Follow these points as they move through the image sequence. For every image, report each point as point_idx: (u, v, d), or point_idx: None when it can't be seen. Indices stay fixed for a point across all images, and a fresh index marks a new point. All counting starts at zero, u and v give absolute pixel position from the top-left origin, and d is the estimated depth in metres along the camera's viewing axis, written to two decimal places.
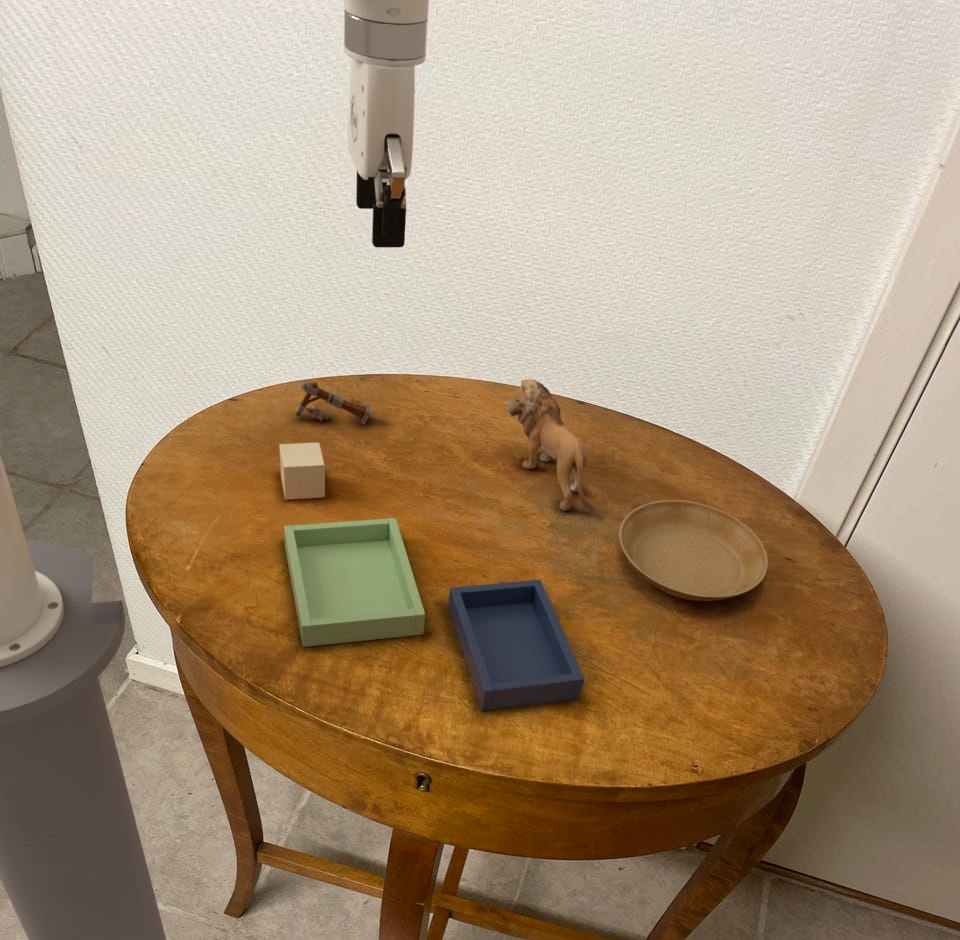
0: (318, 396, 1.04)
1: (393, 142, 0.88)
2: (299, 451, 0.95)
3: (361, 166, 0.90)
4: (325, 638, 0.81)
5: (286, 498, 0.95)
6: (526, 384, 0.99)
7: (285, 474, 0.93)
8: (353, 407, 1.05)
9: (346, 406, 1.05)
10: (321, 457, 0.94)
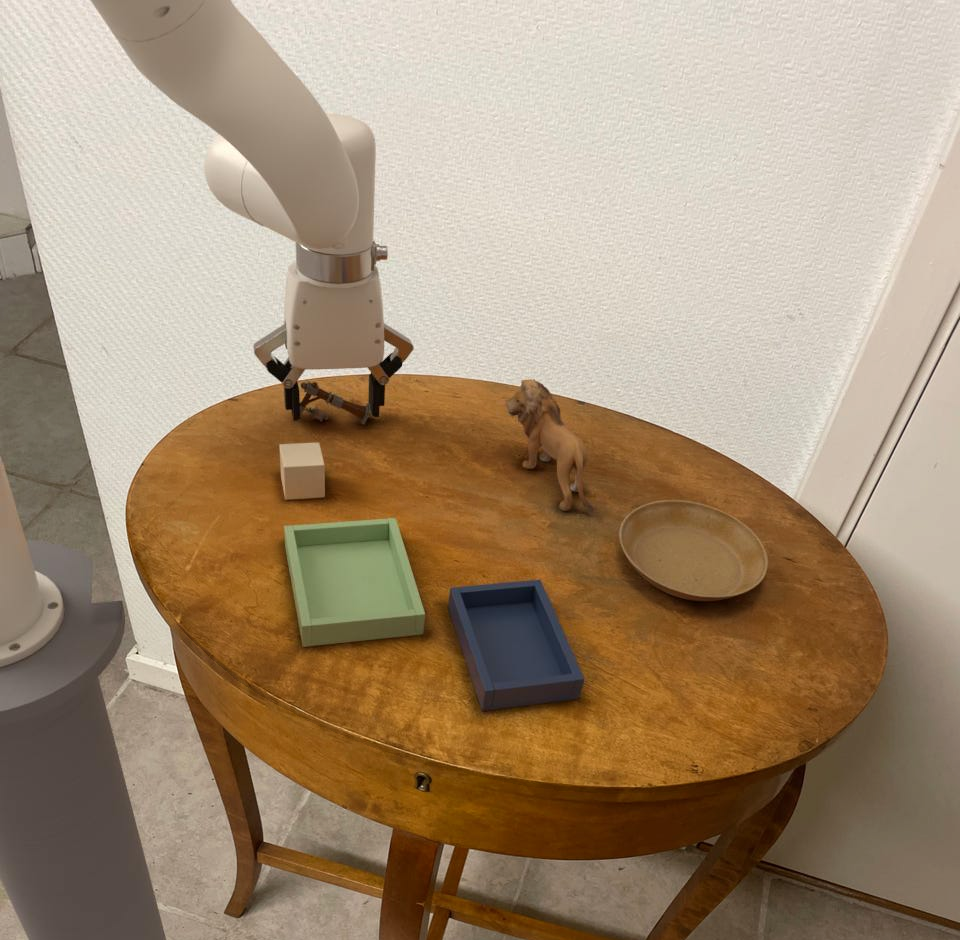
0: (318, 396, 1.04)
1: (281, 329, 0.97)
2: (299, 451, 0.95)
3: None
4: (325, 638, 0.81)
5: (286, 498, 0.95)
6: (526, 384, 0.99)
7: (285, 474, 0.93)
8: (353, 407, 1.05)
9: (346, 406, 1.05)
10: (321, 457, 0.94)
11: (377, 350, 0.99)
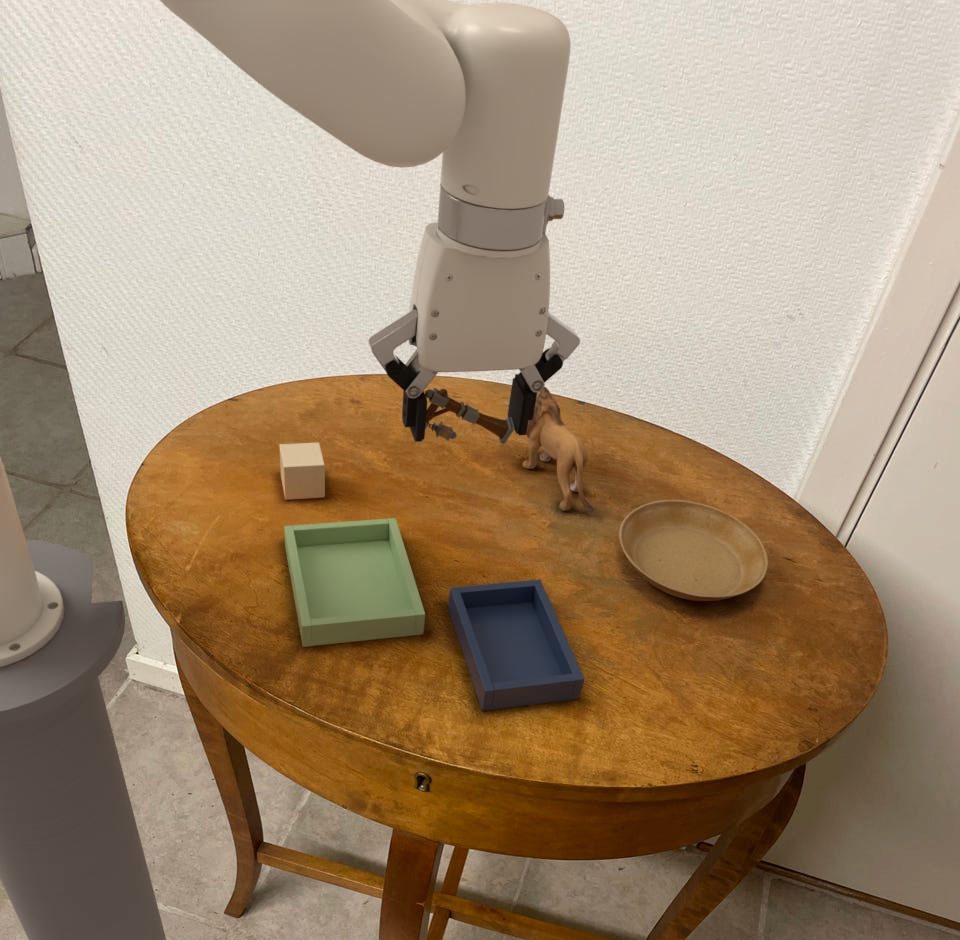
0: (447, 408, 0.77)
1: (409, 316, 0.70)
2: (299, 451, 0.95)
3: None
4: (325, 638, 0.81)
5: (286, 498, 0.95)
6: None
7: (285, 474, 0.93)
8: (492, 422, 0.79)
9: (482, 421, 0.78)
10: (321, 457, 0.94)
11: (537, 345, 0.73)
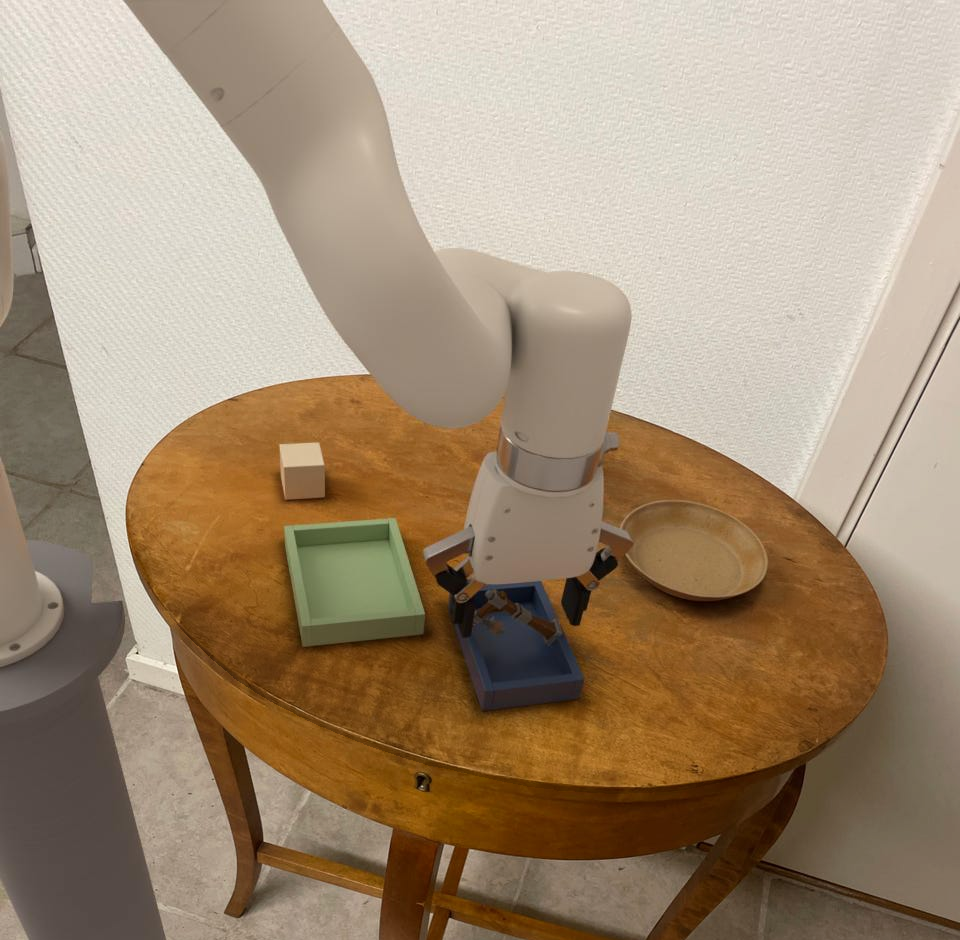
0: (503, 608, 0.80)
1: (465, 534, 0.72)
2: (299, 451, 0.95)
3: None
4: (325, 638, 0.81)
5: (286, 498, 0.95)
6: None
7: (285, 474, 0.93)
8: (541, 625, 0.81)
9: (533, 623, 0.81)
10: (321, 457, 0.94)
11: (588, 558, 0.75)
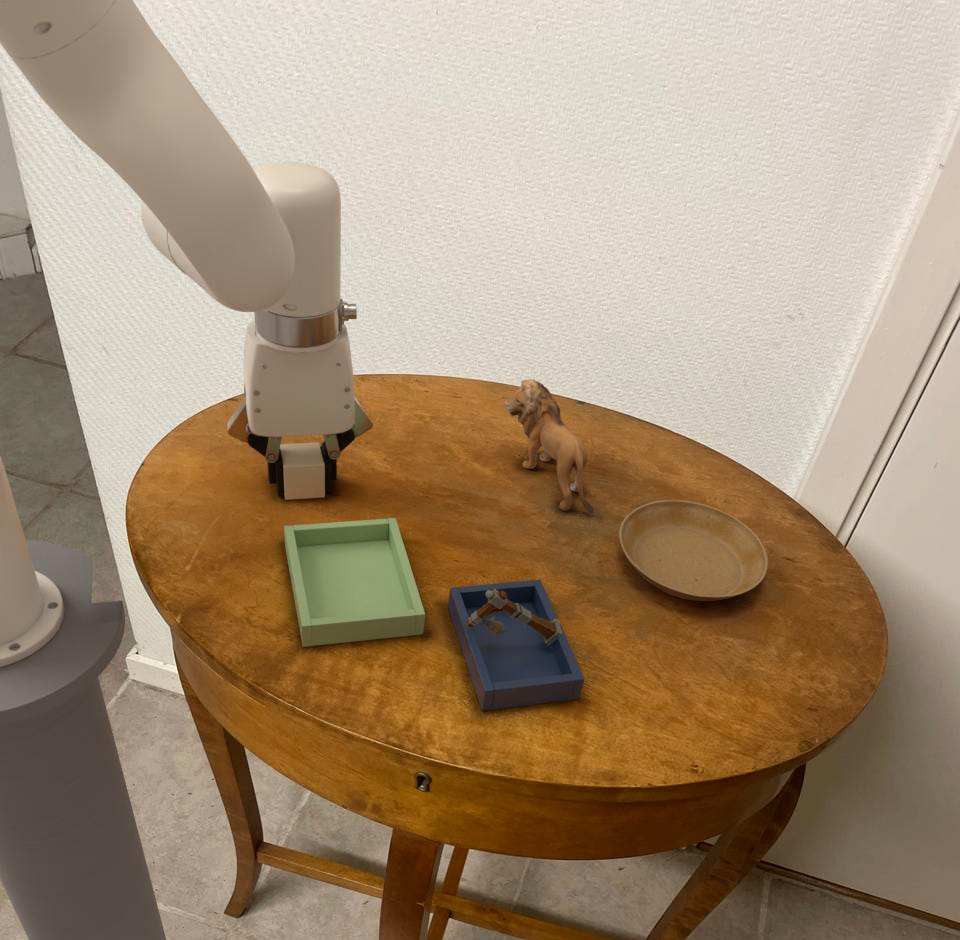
0: (503, 608, 0.80)
1: (245, 400, 0.89)
2: (299, 451, 0.95)
3: None
4: (325, 638, 0.81)
5: (286, 498, 0.95)
6: (526, 384, 0.99)
7: (285, 474, 0.93)
8: (541, 625, 0.81)
9: (533, 623, 0.81)
10: (321, 457, 0.94)
11: (347, 415, 0.90)
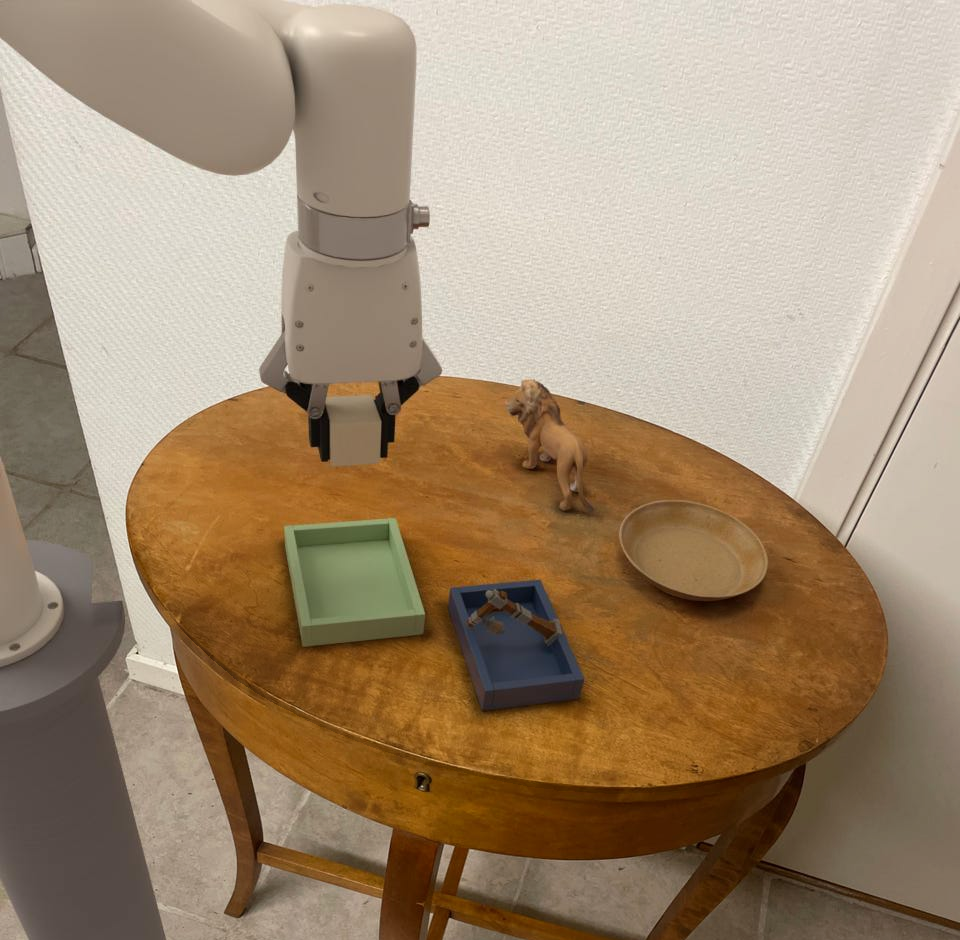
0: (503, 608, 0.80)
1: (283, 336, 0.69)
2: (348, 405, 0.75)
3: None
4: (325, 638, 0.81)
5: (332, 464, 0.76)
6: (526, 384, 0.99)
7: (332, 433, 0.74)
8: (541, 625, 0.81)
9: (533, 623, 0.81)
10: (376, 412, 0.75)
11: (412, 356, 0.71)
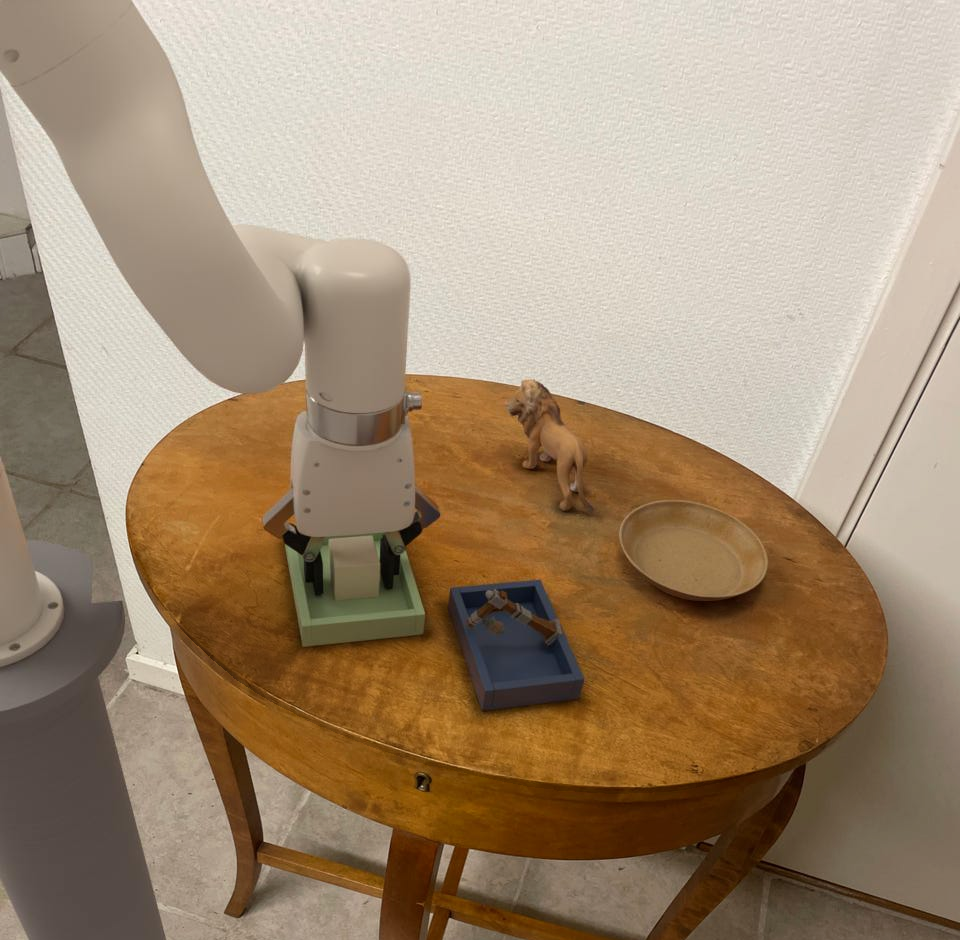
0: (503, 608, 0.80)
1: (289, 495, 0.78)
2: (351, 547, 0.84)
3: None
4: (325, 638, 0.81)
5: (336, 599, 0.85)
6: (526, 384, 0.99)
7: (336, 574, 0.83)
8: (541, 625, 0.81)
9: (533, 623, 0.81)
10: (376, 554, 0.84)
11: (406, 513, 0.80)
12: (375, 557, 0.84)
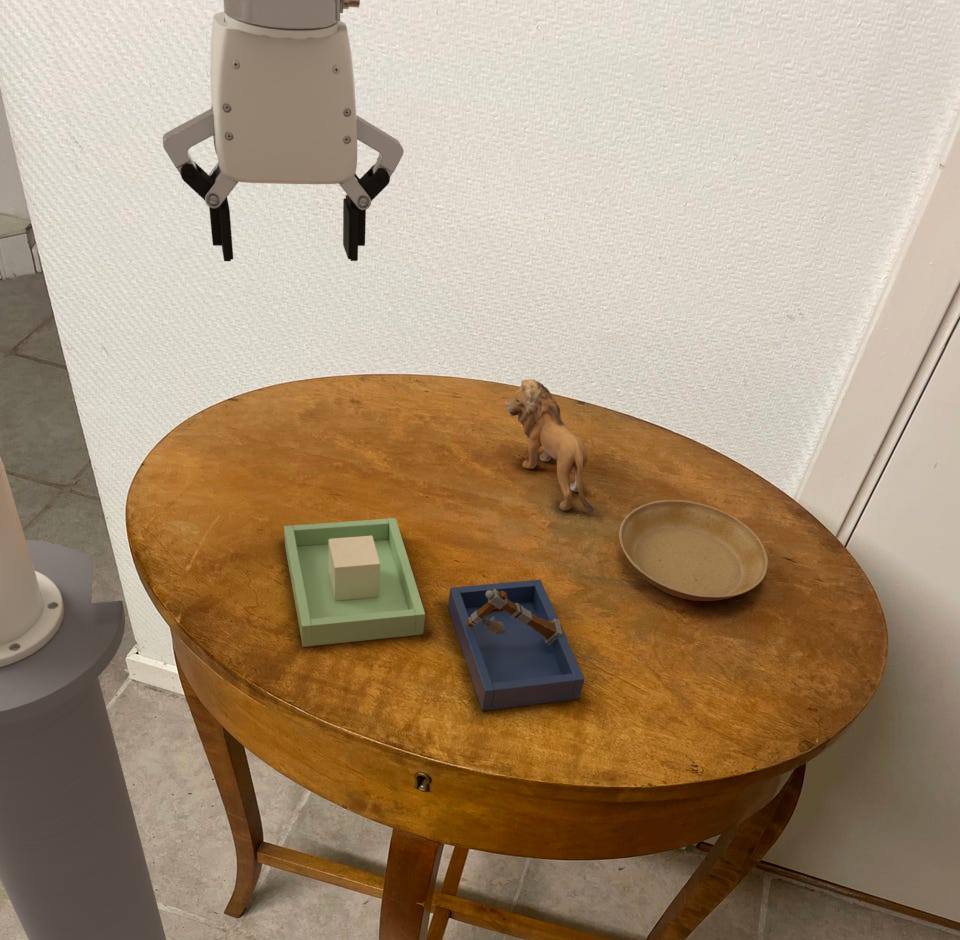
0: (503, 608, 0.80)
1: (206, 114, 0.67)
2: (351, 547, 0.84)
3: None
4: (325, 638, 0.81)
5: (336, 599, 0.85)
6: (526, 384, 0.99)
7: (336, 574, 0.83)
8: (541, 625, 0.81)
9: (533, 623, 0.81)
10: (376, 554, 0.84)
11: (347, 155, 0.69)
12: (375, 557, 0.84)
